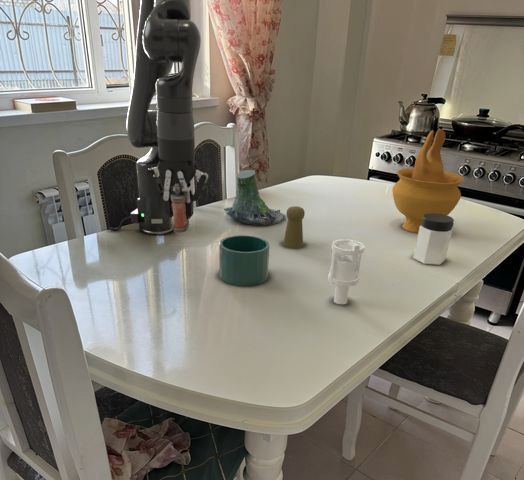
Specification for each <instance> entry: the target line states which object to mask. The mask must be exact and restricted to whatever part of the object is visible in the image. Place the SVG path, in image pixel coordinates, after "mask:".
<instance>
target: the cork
mask: <svg viewBox="0 0 524 480" xmlns="http://www.w3.org/2000/svg"><path fill="white" fill-rule="evenodd" d="M305 214H306V213H305V210H304V208H303V207H301V206H295V205H293V206H289V207H288V208H287V210H286V219H287V221H286V227H285V231H284V237H283V242H282V246H283V247H285V248H288V249H300V248H303V247H304V234H303V233H304V232H303V231H304V230H303V219H304V218H305Z"/></svg>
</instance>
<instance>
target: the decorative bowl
mask: <svg viewBox="0 0 524 480" xmlns="http://www.w3.org/2000/svg"><path fill="white" fill-rule="evenodd" d="M434 133H435V135H434ZM445 140H446V132H445V131H444V130H443V129H441V128H439V129H438V130H437V131H436V132H435V131H434V130H433V129H432V130H430V131H429V133H428V134H427V136H426V138H425V141H424V144H423V146H422V147H421V148H420V150H419V152H418V154H417V156H416V159H415V162H414V167H408V168H401V169H397V171H396V174H397V176H398V178H399V180H397V182H396V183H394V185H393V186H392V191H391V193H392V198H393V202H394V205H395V207H396V209H397V210H398V212H399V213H400V214H402V215H403V216H404V217H405V222H404V223H403V224H402V228H403V230H406V231H408V232H411V233H416V234H418V233H419V228H420V226H421V224H422V220H423V216H424V215H425V214H429V213H436V214H443V215H447V216H449V214H451V212H453V210H454V209H455V208H456V207H457V205H458V204H459V202H460V200H461V198H462V197H461V196H462V193H461V190H460V189H459V187H458V186H459V185H460V184H462V182H464V180H465V178H464V177H463V176H461V175H460V174H457V173H454V172H451V171H446V170H444V163H443V158H442V154H441V150H442V147H443V145H444V143H445Z"/></svg>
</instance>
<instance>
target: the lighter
mask: <svg viewBox="0 0 524 480" xmlns="http://www.w3.org/2000/svg"><path fill="white" fill-rule="evenodd" d="M185 199H186V196H185V195H184V194H183V192H182V189H181V186H180V184H178V183H176V184H175V185H174V189H173V192H172V193H171V201H172V211H173V217H172V218H173V223H172V226H173V232H174V233H175V234H176V233H177V234H182V233H183V234H184V233H186V232H187V231H188V230H189V229H190V219H189V220H188V219H186V206H185V203H186V202H185Z"/></svg>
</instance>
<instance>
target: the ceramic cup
mask: <svg viewBox="0 0 524 480" xmlns="http://www.w3.org/2000/svg"><path fill="white" fill-rule="evenodd" d="M218 244H219V245H218V246H219V247H218V248H219V249H218V250H219V278H220V279H221V280H222V281H223V282H225V283H227V284H230V285H232V286H233V285H234V286H240V287H247V286H248V287H249V286H256V285H260V284H263V283H265V282H266V281H267V280H268V277H269V267H270V266H269V263H270V242H269V241H268V240H267V239H264V238H263V237H259V236H255V235H247V234H237V235H231V236H227V237H224V238H222V239H221V240H219V243H218Z"/></svg>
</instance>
